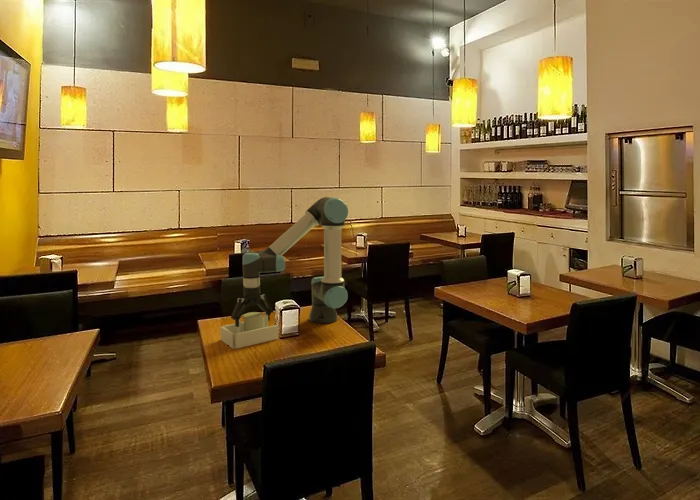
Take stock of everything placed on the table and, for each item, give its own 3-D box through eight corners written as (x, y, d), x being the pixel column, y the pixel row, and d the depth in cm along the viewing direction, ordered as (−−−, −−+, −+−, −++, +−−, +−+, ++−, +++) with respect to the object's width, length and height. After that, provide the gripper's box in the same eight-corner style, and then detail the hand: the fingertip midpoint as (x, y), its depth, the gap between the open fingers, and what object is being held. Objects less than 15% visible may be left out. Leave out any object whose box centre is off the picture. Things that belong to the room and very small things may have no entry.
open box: (264, 330, 229) (264, 317, 228) (278, 338, 217) (278, 325, 216) (221, 339, 217) (220, 326, 216) (233, 349, 205) (232, 335, 204)
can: (261, 341, 214) (260, 316, 212) (241, 341, 214) (240, 316, 212) (265, 335, 223) (264, 311, 221) (246, 335, 223) (245, 311, 221)
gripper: (272, 281, 225) (273, 323, 228) (222, 288, 210) (224, 333, 213) (279, 284, 219) (280, 327, 222) (228, 291, 204) (230, 337, 207)
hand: (253, 330), depth 218 cm, fingers open, 13 cm apart
